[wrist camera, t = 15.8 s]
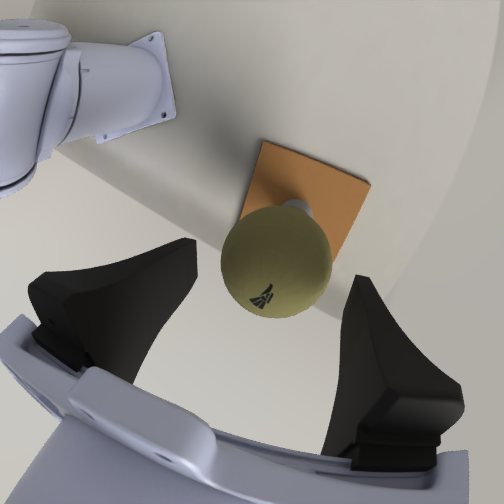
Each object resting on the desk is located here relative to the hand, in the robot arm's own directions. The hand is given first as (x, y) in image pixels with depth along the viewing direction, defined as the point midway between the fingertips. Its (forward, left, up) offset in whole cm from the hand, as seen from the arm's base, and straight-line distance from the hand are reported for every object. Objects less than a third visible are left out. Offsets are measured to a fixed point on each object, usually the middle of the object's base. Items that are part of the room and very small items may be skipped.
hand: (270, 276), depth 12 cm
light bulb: (0, -1, -9) cm, 9 cm away
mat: (0, -1, -10) cm, 10 cm away
